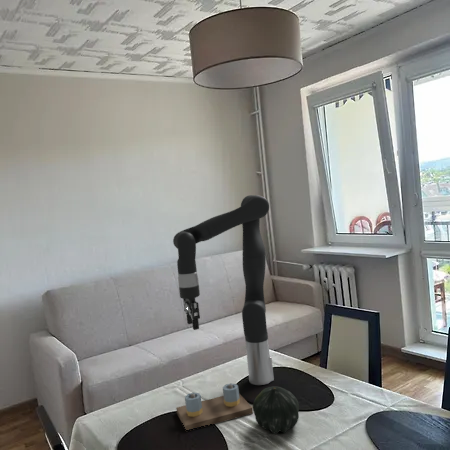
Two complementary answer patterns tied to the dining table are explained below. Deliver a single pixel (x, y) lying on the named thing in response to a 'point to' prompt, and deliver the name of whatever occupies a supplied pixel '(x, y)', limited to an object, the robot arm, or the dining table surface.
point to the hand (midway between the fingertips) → (193, 326)
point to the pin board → (214, 412)
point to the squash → (276, 409)
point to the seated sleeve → (231, 395)
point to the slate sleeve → (193, 404)
